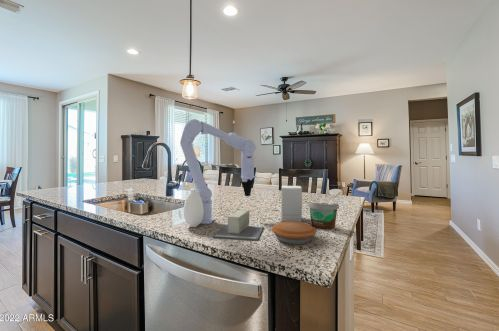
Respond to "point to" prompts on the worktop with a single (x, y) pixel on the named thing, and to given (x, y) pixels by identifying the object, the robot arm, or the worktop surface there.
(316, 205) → the food container
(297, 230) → the pie
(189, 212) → the white ellipsoid
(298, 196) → the supplement box
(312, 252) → the worktop surface
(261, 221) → the worktop surface
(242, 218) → the skincare box
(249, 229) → the mat
